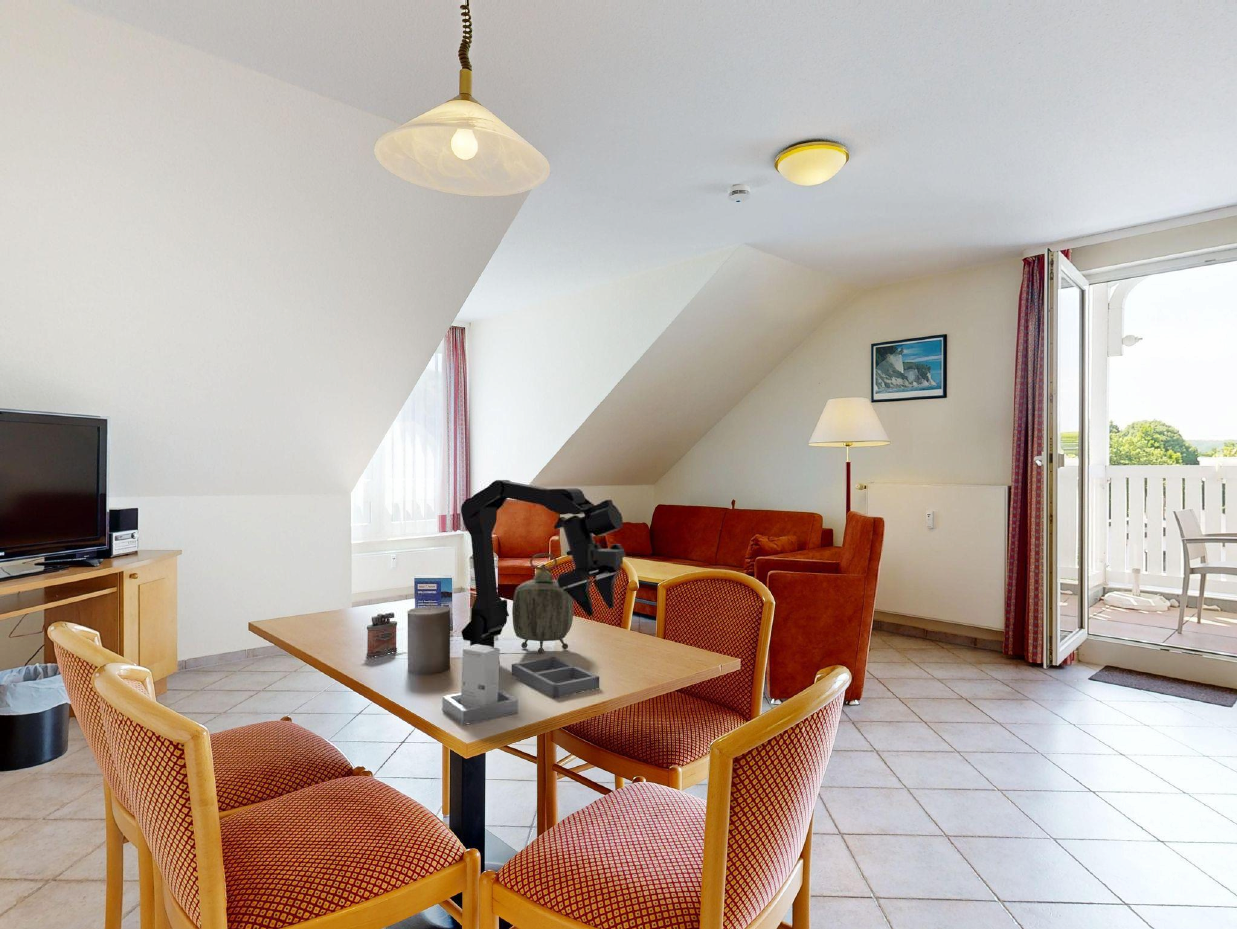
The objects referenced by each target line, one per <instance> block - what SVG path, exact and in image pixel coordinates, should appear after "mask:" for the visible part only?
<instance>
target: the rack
mask: <svg viewBox="0 0 1237 929" xmlns="http://www.w3.org/2000/svg"><path fill="white" fill-rule="evenodd" d="M511 676H512V677H514V678H516V679H518V680H519V679H520V681H521V682H524V683H525V684H527V685H529V686H531V687H532V688H535V689H536V688H537V690H538V691H540V692H541V693H544V694H545V695H547V696H550V697H551V698H553V699H556V698H557V699H558V698H562V697H566V695H567V696H571V695H575V694H574V693H576V694H581V693H583V692H582V691H586V692H588V691H587V690H590V691H593V690H592V689H595V690H597V689H596V688H599V689H600V676H599V675H597V674H594V673H592V672H591V671H587V670H585V669H583V668H581V667H578V666H576V665H573V664H571V663H570V662H567V661H565V660H563V659H560V658H558V657H556V656H550V657H545V658H539V659H534V660H532V659H531V660H528V661H522V662H517V663H516V662H515V663H512V664H511ZM574 679H575V680H574ZM580 692H581V693H580ZM561 696H562V697H561Z"/></svg>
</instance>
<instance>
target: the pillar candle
mask: <svg viewBox="0 0 1237 929" xmlns="http://www.w3.org/2000/svg"><path fill="white" fill-rule="evenodd" d="M450 668H451V609H450V607H448V606H444V605H431V604H428V606H419V607H414V608H411V609H409V610H407V670H408V672H409V673H411V674H414V675H431V674H438V673H443V672H446V671H448V670H450Z"/></svg>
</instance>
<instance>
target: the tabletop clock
mask: <svg viewBox="0 0 1237 929" xmlns="http://www.w3.org/2000/svg"><path fill="white" fill-rule="evenodd" d="M538 557H548V558H551V559H552V560H553V561H554V565H551V566H548V567H547V566H546V564H543V563H542V564H541V565H540V566H541V567H540V566H536V565H534V564H533V560H534V559H535V558H538ZM529 560H530V561H529V564H530V566H531V567H532V568H533V569H535V570H538V572H537V573H535V574H534V576H533V578H532V579H529V580H526V581H524V582H522V583H521V584H520V585H518V586H517V587H516V588H515V590H514V593H513V598H512V610H511V612H512V626H513V631H514V633H515V636H516V637H517V638H519V639H521V640H524V641H523V642H521V645H520V646H521V648H522V649H527V647H528V646H529V645H528V641H536V642H539V648H537V653H538V654H539V655H543V654H544V653H545V649H544V648H543V645H544V644H543V643H544V642H552V641H553V642H556V641H559V642H560V643H561V644H562V645H561V648H562V650H567V649H568V648H569V644H568V643H566V642H564V641H565V640H564V638H566V636H567V635H568V633H569V632H570V630H571V628H572V625H573V621H574V620H573V619H574V608H575V607H574V606H575V605H574V604H575V603H574V599H573V598H572V597H571V596H570V595H569V594H568V593H567V592H566V591H563V589H566V588H568V586H566V587H563V588H559V586H558V583H557V579H554V576H553V574H552V573H551V572H550V570H552V569H553V570H554V568H555V567H557V565H558V561H557V559H556V557H555V556H554V555H552V554H550V553H537V554H534V555H532V557H531V558H530V559H529Z"/></svg>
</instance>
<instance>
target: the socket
mask: <svg viewBox="0 0 1237 929" xmlns="http://www.w3.org/2000/svg"><path fill="white" fill-rule="evenodd" d="M441 704H442V709H441V710H442V711H444V712H445V713H446V714H448V715H449V716H451V717H452V718H453V719H454V720H456V721H457V722H458V723H459V722H460V724H461V723H462V724H461V725H462V726H465V725H464V724H467V723H471V724H475V722H476V723H479V722H485V721H490V720H494V719H498V718H502V716H503V717H506V716H511V715H510V714H512V715H515V714H514V713H516V714H518V713H519V700H518V699H517V698H516V697H514V696H512V695H510V694H509V693H508V692H506V691H504V690H502V689H501V688H499V687H498V702H496V703H491V704H487V705H482V706H477V707H472V708H467V709H466V708H465V707H463V706H462V705H461V692H458V693H454V694H447V695H444V696H442V703H441ZM497 717H498V718H497ZM484 720H485V721H484ZM467 725H468V724H467Z"/></svg>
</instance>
